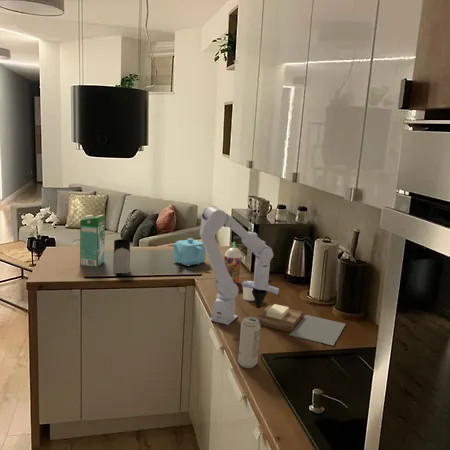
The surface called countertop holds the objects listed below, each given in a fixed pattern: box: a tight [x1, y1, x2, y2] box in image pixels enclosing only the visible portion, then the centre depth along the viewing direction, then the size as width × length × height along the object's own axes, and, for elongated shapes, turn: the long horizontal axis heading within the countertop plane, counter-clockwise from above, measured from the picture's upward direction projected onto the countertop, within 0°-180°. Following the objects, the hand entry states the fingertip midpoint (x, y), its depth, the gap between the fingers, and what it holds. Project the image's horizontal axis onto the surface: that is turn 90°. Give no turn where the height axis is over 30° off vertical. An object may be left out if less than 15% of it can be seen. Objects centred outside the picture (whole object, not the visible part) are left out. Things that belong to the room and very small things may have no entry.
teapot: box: [170, 237, 206, 266], centre depth 252 cm, size 18×16×14 cm
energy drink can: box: [237, 316, 262, 369], centre depth 150 cm, size 6×6×15 cm
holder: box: [111, 238, 131, 274], centre depth 235 cm, size 9×14×15 cm, turn 14°
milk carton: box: [79, 214, 106, 268], centre depth 239 cm, size 9×9×25 cm
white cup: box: [242, 280, 255, 302], centre depth 208 cm, size 7×7×7 cm
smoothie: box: [223, 241, 243, 285], centre depth 226 cm, size 8×8×20 cm
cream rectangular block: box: [266, 303, 290, 319], centre depth 187 cm, size 9×6×2 cm, turn 155°
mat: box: [289, 314, 347, 347], centre depth 181 cm, size 22×16×1 cm
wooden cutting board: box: [255, 304, 304, 333], centre depth 187 cm, size 16×14×2 cm
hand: (258, 307), depth 190 cm, fingers closed
